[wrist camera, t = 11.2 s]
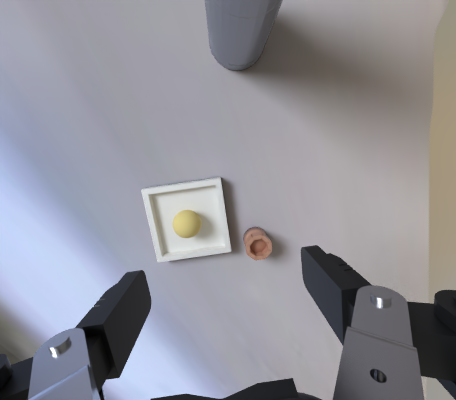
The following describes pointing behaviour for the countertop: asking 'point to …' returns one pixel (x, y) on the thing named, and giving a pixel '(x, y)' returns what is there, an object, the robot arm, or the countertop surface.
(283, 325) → the countertop surface
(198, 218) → the ball
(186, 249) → the tray
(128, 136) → the countertop surface
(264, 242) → the cup
